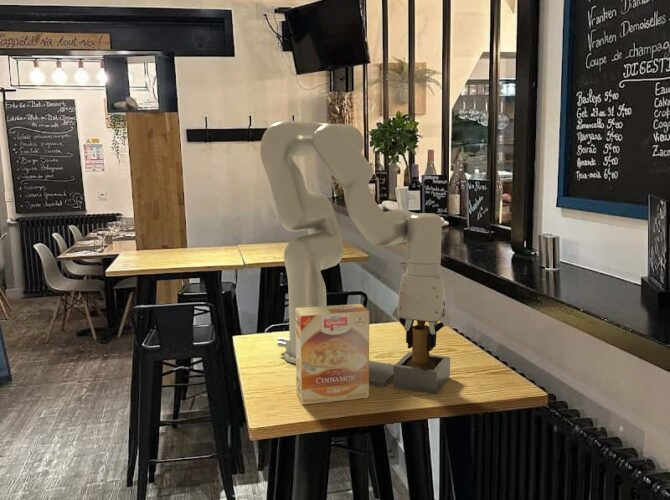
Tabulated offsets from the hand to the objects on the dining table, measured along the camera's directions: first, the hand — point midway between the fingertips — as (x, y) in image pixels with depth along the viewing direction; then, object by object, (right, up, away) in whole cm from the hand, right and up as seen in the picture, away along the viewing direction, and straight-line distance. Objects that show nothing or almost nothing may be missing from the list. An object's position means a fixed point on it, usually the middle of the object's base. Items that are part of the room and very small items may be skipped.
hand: (420, 347), depth 142 cm
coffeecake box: (-20, -10, -6) cm, 23 cm away
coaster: (-10, -8, +6) cm, 14 cm away
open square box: (0, -8, +1) cm, 8 cm away
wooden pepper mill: (0, -6, +1) cm, 7 cm away
